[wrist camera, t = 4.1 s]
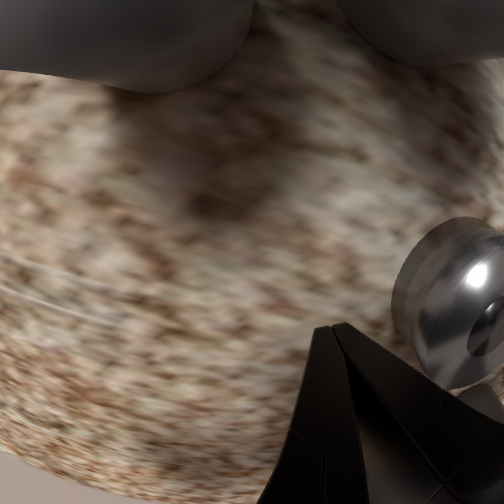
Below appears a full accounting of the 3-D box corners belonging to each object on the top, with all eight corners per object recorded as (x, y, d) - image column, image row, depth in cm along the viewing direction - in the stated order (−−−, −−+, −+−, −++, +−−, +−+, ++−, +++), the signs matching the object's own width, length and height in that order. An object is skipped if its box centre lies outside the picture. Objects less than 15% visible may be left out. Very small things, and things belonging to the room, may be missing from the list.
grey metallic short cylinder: (503, 205, 7) (556, 233, 5) (485, 319, 9) (521, 358, 7) (390, 230, 8) (441, 273, 5) (386, 355, 9) (414, 410, 7)
